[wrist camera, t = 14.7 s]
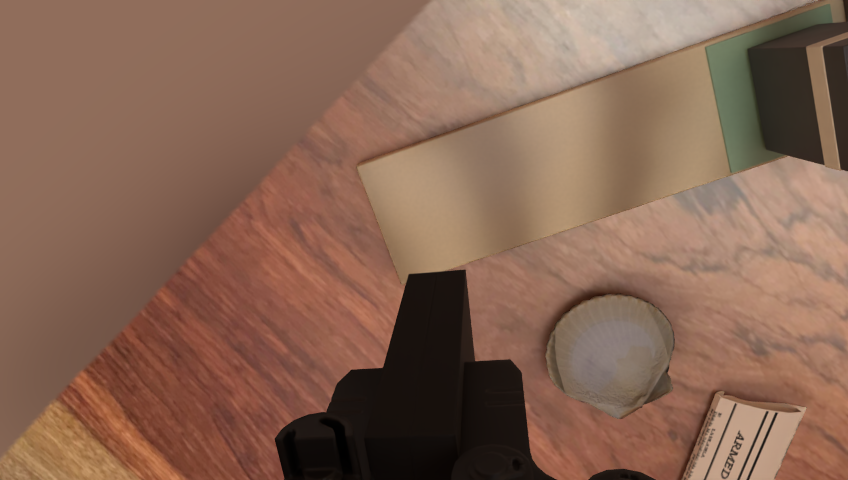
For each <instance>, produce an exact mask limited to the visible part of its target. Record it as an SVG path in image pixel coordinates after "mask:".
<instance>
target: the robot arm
mask: <svg viewBox="0 0 848 480" xmlns="http://www.w3.org/2000/svg"><path fill="white" fill-rule="evenodd" d="M275 442H276V446H277V450H278V454H279V458H280V462H281V466H282V470H283V474H284V478H285V479H284V480H556V479H554V478H552V477H550V476H549V475H547V474H545V473H544V472H543V471H542V470H540V469H539V468H538V467H537V465H536V464H535V462H534V461H533V460H532V456H531V453H530V447H529V438H528V428H527V419H526V410H525V401H524V391H523V382H522V373H521V371H520V370H519V369H518V368H517V367H516V365H515V364H514V363H513V362H512V361H511V360H510V359H509V360H491V361H475V356H474V347H473V337H472V327H471V318H470V308H469V299H468V289H467V279H466V270H455V271H442V272H428V273H415V274H409V275H408V278H407V282H406V286H405V290H404V293H403V297H402V301H401V304H400V308H399V312H398V315H397V319H396V323H395V326H394V330H393V334H392V337H391V341H390V345H389V348H388V352H387V356H386V359H385V363H384V367H383V368H375V369H357V370H351V371H350V372H349V373H348V374H347V375H346V376H345V377H343V378H342V379H341V380H340V381H339V382H338V383H337V385H336V388H335V391H334V393H333V396H332V399H331V402H330V404H329V406H328V409H327V412H321V413H315V414H309V415H306V416H304V417H301V418H299V419H296V420H294V421H292V422H291V423H290V424H288V425H287V426H285V427H284V428H283V429H282V430H281V431H280V432H279V434H278V435H277V436H276V438H275ZM589 480H655V479H653V478H651V477H649V476H647V475H645V474H643V473H641V472H637V471H632V470H627V469H614V470H606V471H603V472H600V473H598V474H595V475H593V476H592V477H591V478H590V479H589Z"/></svg>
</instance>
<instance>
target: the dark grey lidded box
mask: <svg viewBox="0 0 848 480" xmlns="http://www.w3.org/2000/svg"><path fill="white" fill-rule="evenodd" d="M747 50H748V56H749V61H750V67H751V72H752V77H753V83H754V88H755V93H756V99H757V104H758V109H759V115H760V120H761V126H762V131H763V136H764V142H765V147H766V150H768V151H772V152H776V153H780V154H784V155H788V156H791V157H795V158H799V159H803V160H807V161H811V162H814V163H818V164H822V165H825V167H828V168H832V169H836V170H840V171H841V170H845V171H848V22H838V23H826V24H817V25H814V26H811V27H808V28H805V29H802V30H800V31H797V32H794V33H791V34H788V35H785V36H782V37H780V38H777V39H774V40H771V41H768V42H765V43H762V44H760V45H757V46H754V47H751V48H748V49H747Z"/></svg>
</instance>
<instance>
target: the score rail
mask: <svg viewBox="0 0 848 480" xmlns="http://www.w3.org/2000/svg"><path fill="white" fill-rule="evenodd" d="M838 22H848V0H820V1H817V2H814V3H811V4H809V5H806V6H803V7H800V8H797V9H794V10H792V11H789V12H786V13H783V14H780V15H777V16H775V17H772V18H769V19H766V20H763V21H760V22H758V23H755V24H752V25H749V26H746V27H743V28H741V29H738V30H735V31H732V32H729V33H726V34H724V35H721V36H718V37H715V38H712V39H709V40H707V41H704V42H701V43H698V44H695V45H692V46H690V47H687V48H684V49H681V50H678V51H675V52H673V53H670V54H667V55H664V56H661V57H658V58H656V59H653V60H650V61H647V62H644V63H641V64H639V65H636V66H633V67H630V68H627V69H624V70H622V71H619V72H616V73H613V74H610V75H607V76H605V77H602V78H599V79H596V80H593V81H591V82H588V83H585V84H582V85H579V86H576V87H574V88H571V89H568V90H565V91H562V92H559V93H557V94H554V95H551V96H548V97H545V98H542V99H540V100H537V101H534V102H531V103H528V104H525V105H523V106H520V107H517V108H514V109H511V110H508V111H506V112H503V113H500V114H497V115H494V116H491V117H489V118H486V119H483V120H480V121H477V122H474V123H472V124H469V125H466V126H463V127H460V128H457V129H455V130H452V131H449V132H446V133H443V134H440V135H438V136H435V137H432V138H429V139H426V140H423V141H421V142H418V143H415V144H412V145H409V146H406V147H404V148H401V149H398V150H395V151H392V152H389V153H387V154H384V155H381V156H378V157H375V158H372V159H370V160H367V161H364V162H361V163H358V164H357V166H356V168H357V171H358V173H359V176H360V178H361V181H362V184H363V186H364V189H365V191H366V194H367V197H368V199H369V202H370V204H371V207H372V210H373V212H374V215H375V217H376V220H377V223H378V225H379V228H380V230H381V233H382V236H383V238H384V241H385V243H386V246H387V249H388V251H389V254H390V256H391V259H392V261H393V264H394V267H395V269H396V272H397V274H398V277H399V280H400V282H401V284H402V285H404V284H406V282H407V278H408V275H409V274H415V273H428V272H442V271H446V270H449V269H452V268H455V267H458V266H461V265H464V264H467V263H470V262H473V261H476V260H479V259H482V258H485V257H488V256H491V255H494V254H497V253H500V252H503V251H506V250H509V249H512V248H515V247H518V246H521V245H524V244H527V243H530V242H533V241H536V240H539V239H542V238H545V237H548V236H551V235H554V234H557V233H560V232H563V231H566V230H569V229H572V228H575V227H578V226H581V225H584V224H587V223H590V222H593V221H596V220H599V219H602V218H605V217H608V216H611V215H614V214H617V213H620V212H623V211H626V210H629V209H632V208H635V207H638V206H641V205H644V204H647V203H649V202H652V201H655V200H658V199H661V198H664V197H667V196H670V195H673V194H676V193H679V192H682V191H685V190H688V189H691V188H694V187H697V186H700V185H703V184H706V183H709V182H712V181H715V180H718V179H721V178H724V177H727V176H730V175H733V174H736V173H739V172H742V171H745V170H748V169H751V168H754V167H757V166H760V165H763V164H766V163H769V162H772V161H775V160H778V159H781V158H784V157H787V156H788V155H784V154H780V153H776V152H772V151H768V150H766V147H765V142H764V136H763V131H762V126H761V120H760V115H759V109H758V104H757V99H756V93H755V88H754V83H753V77H752V72H751V67H750V61H749V56H748V50H747V49H748V48H751V47H754V46H757V45H760V44H762V43H765V42H768V41H771V40H774V39H777V38H780V37H782V36H785V35H788V34H791V33H794V32H797V31H800V30H802V29H805V28H808V27H811V26H814V25H817V24H826V23H838Z"/></svg>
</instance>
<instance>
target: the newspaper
mask: <svg viewBox="0 0 848 480" xmlns="http://www.w3.org/2000/svg"><path fill="white" fill-rule="evenodd" d="M723 394H724V391H719V392H716V394H715V396H714V399H713V401H712V404H711V406H710V409H709V411H708V414H707V417H706V419H705V422H704V424H703V427H702V429H701V432H700V434H699V437H698V439H697V442H696V444H695V447H694V449H693V452H692V454H691V457H690V459H689V462H688V464H687V467H686V470H685V472H684V475H683V477H682V480H774V479H775V477H776V475H777V473H778V470H779V468H780V466H781V464H782V461H783V459H784V457H785V455H786V453H787V450H788V448H789V446H790V444H791V441H792V439H793V437H794V435H795V432H796V430H797V428H798V426H799V423H800V421H801V419H802V417H803V415H804V412H805V410H806V408H807V407H801V406H796V405H791V404H787V403H785V404H784V403H772V402H750V401H746V400H742V399H737V398H736V397H734V396H728V395H725V396H723Z"/></svg>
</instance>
